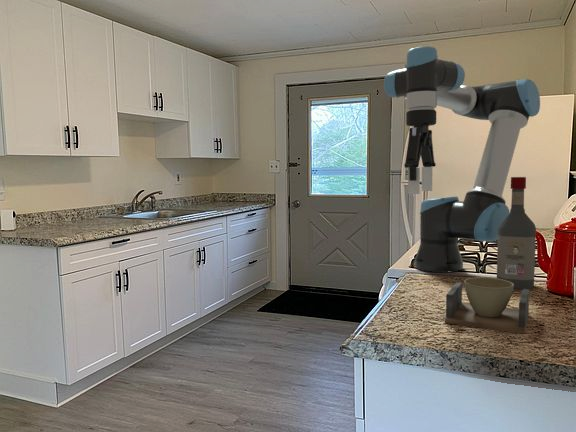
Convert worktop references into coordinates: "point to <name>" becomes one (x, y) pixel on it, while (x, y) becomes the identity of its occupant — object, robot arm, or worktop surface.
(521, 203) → the liquor
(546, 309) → the worktop surface
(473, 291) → the flower pot
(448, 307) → the cradle
